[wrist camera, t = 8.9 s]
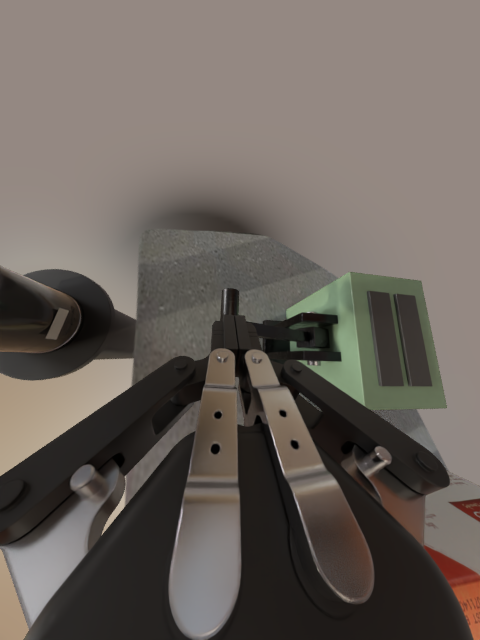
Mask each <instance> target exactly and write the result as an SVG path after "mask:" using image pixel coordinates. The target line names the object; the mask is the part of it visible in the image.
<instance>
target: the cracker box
mask: <svg viewBox="0 0 480 640" xmlns="http://www.w3.org/2000/svg"><path fill="white" fill-rule="evenodd" d="M446 471H447V470H446ZM447 473H448V475H449V478H450V484H449V486H448V487H446V488H443V489H441V490H438V491H436V492H433V493H431V494H428V495H426V498H425V531H424V548H425V550H426V551H427V552H428V553H429V554H430V556H431V557H432V558H433V560H434V561H435V563H436V564H437V565H438V567H439V568H440V570H441V571H442V573H443V574H444V576H445V577H446V579H447V581H448V582H449V584H450V586H451V588H452V589H453V591H454V593H455V595H456V597H457V599H458V601H459V603H460V605H461V607H462V610H463V612H464V614H465V616H466V619H467V622H468V624H469V627H470V630H471V633H472V636H473V638H474V640H480V486H478V485H476V484H474V483H472V482H470V481H468V480H466V479H463V478H461V477H459V476H457V475H455V474H453V473H451V472H449V471H447Z"/></svg>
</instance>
